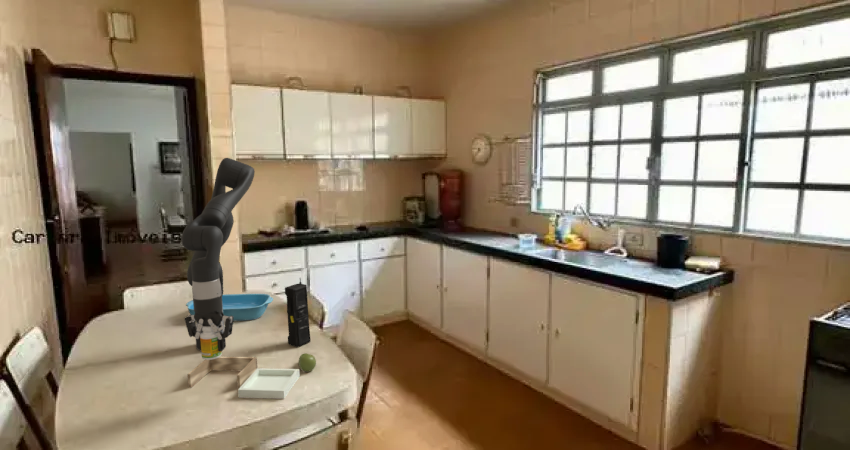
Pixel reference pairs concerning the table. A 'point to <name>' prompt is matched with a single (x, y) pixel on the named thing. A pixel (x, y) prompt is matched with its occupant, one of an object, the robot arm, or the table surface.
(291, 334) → the portable radio
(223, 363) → the frame
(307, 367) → the pear
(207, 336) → the supplement bottle
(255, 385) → the plastic tray
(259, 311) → the casserole dish
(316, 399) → the table surface
